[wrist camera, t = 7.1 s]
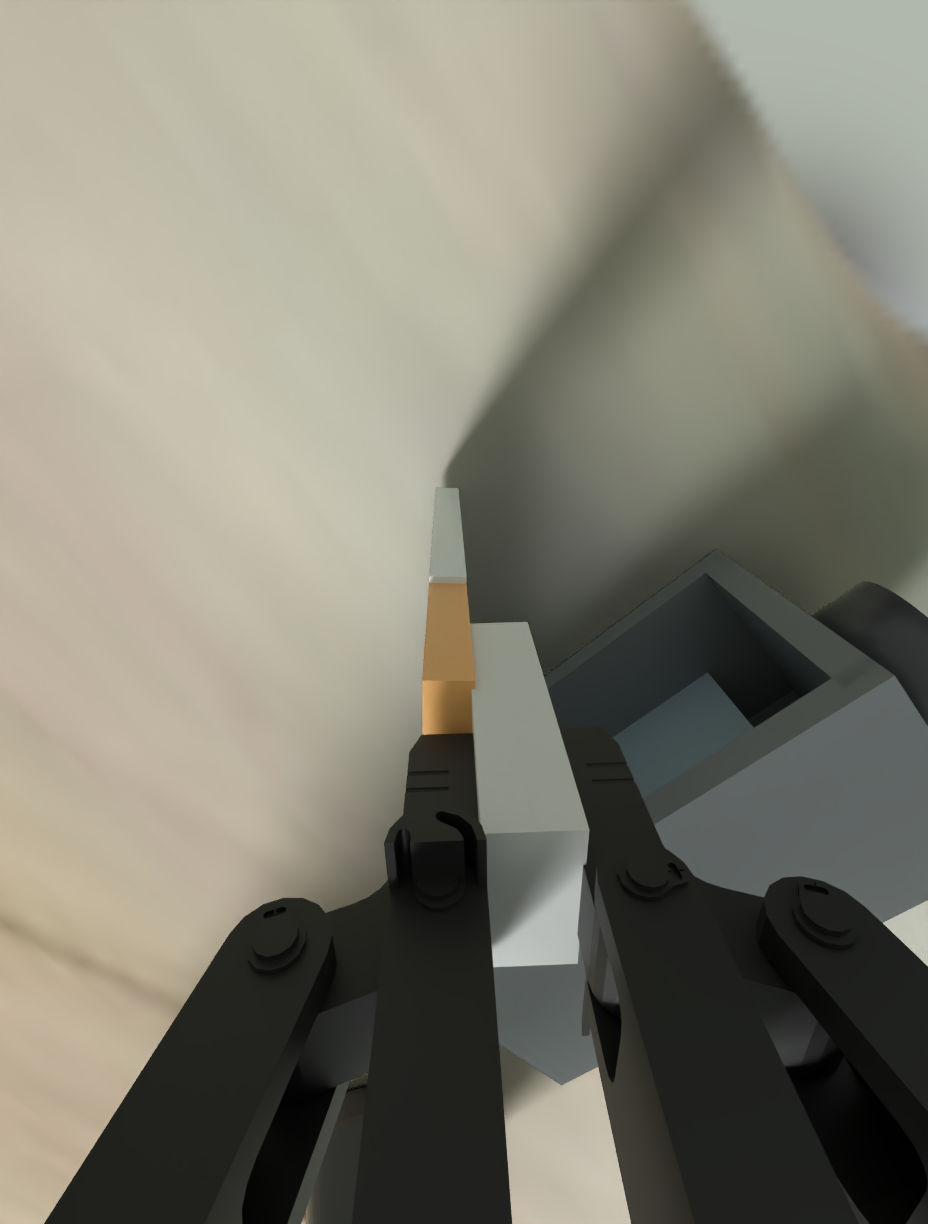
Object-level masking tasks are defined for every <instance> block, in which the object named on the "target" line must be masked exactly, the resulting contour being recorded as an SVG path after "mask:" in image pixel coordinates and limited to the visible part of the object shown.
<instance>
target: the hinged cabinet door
mask: <svg viewBox="0 0 928 1224" xmlns="http://www.w3.org/2000/svg"><path fill="white" fill-rule="evenodd" d="M473 689H475V672H474V661H473V650H472V639H471V628H470V617H469V606H468V595H467V575H466V564H465V553H464V543H463V532H462V522H461V511H460V501H459V490H458V488H436V494H435V507H434V520H433V534H432V547H431V560H430V574H429V594H428V608H427V622H426V635H425V649H424V663H423V677H422V730H423V735H427V734H456V733H472V690H473Z"/></svg>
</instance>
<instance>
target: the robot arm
mask: <svg viewBox="0 0 928 1224" xmlns="http://www.w3.org/2000/svg"><path fill="white" fill-rule="evenodd" d="M470 628H471V639H472V650H473V661H474V672H475V689H473V690H472V733H456V734H427V735H421V737H420V738H419V740H418V741H417V742H416V744H415V745H414V747H413V748H412V749H411V751H410V753H409V763H408V776H407V783H406V793H405V803H404V813H403V816H402V817H401V818H400V819H399V820H398V821H397V822H396V823H395V824H394V825H393V826H392V827H391V828H390V830H389V832H388V835H387V837H386V840H385V843H384V846H385V856H386V865H387V874H388V881H387V882H386V883H385V884H384V885H383V886H382V887H381V888H380V889H379V890H378V891H376V892H375V893H374V894H372V895H371V896H369V897H368V898H366V899H363V900H361V901H359V902H357V903H354V904H352V905H349V906H346V907H343V908H340V909H337V910H334V911H331V912H328V913H325V912H324V911H323V910H322V908H321V907H320V906H319V905H318V904H316V903H313V902H311V901H308V900H306V899H303V898H282V899H279V900H276V901H273V902H270V903H266V904H263V905H262V906H260V907H259V908H257V909H256V910H254V911H253V912H251V913H250V914H248V915H247V916H245V917H244V918H243V919H242V920H241V921H240V923H239V924H238V925H237V926H236V927H235V928H234V929H233V931H232V932H231V933H230V934H229V936H228V937H227V939H226V940H225V942H224V943H223V945H222V946H221V948H220V950H219V951H218V953H217V954H216V956H215V957H214V959H213V961H212V962H211V964H210V965H209V967H208V968H207V970H206V971H205V973H204V975H203V976H202V978H201V979H200V981H199V982H198V984H197V986H196V987H195V989H194V990H193V992H192V993H191V995H190V997H189V998H188V1000H187V1001H186V1003H185V1004H184V1006H183V1007H182V1009H181V1011H180V1012H179V1014H178V1015H177V1017H176V1018H175V1020H174V1022H173V1023H172V1025H171V1026H170V1028H169V1029H168V1031H167V1032H166V1034H165V1036H164V1037H163V1039H162V1040H161V1042H160V1043H159V1045H158V1047H157V1048H156V1050H155V1051H154V1053H153V1054H152V1056H151V1057H150V1059H149V1061H148V1062H147V1064H146V1065H145V1067H144V1068H143V1070H142V1072H141V1073H140V1075H139V1076H138V1078H137V1079H136V1081H135V1082H134V1084H133V1086H132V1087H131V1089H130V1090H129V1092H128V1093H127V1095H126V1097H125V1098H124V1100H123V1101H122V1103H121V1104H120V1106H119V1108H118V1109H117V1111H116V1112H115V1114H114V1115H113V1117H112V1118H111V1120H110V1122H109V1123H108V1125H107V1126H106V1128H105V1129H104V1131H103V1133H102V1134H101V1136H100V1137H99V1139H98V1140H97V1142H96V1143H95V1145H94V1147H93V1148H92V1150H91V1151H90V1153H89V1154H88V1156H87V1158H86V1159H85V1161H84V1162H83V1164H82V1165H81V1167H80V1168H79V1170H78V1172H77V1173H76V1175H75V1176H74V1178H73V1179H72V1181H71V1183H70V1184H69V1186H68V1187H67V1189H66V1190H65V1192H64V1193H63V1195H62V1197H61V1198H60V1200H59V1201H58V1203H57V1204H56V1206H55V1208H54V1209H53V1211H52V1212H51V1214H50V1215H49V1217H48V1219H47V1220H46V1222H45V1223H44V1224H301V1222H302V1219H303V1216H304V1214H305V1211H306V1224H512V1216H511V1202H510V1189H509V1175H508V1161H507V1148H506V1134H505V1121H504V1107H503V1093H502V1080H501V1066H500V1052H499V1039H498V1025H497V1012H496V998H495V984H494V971H493V967H511V966H533V965H559V964H578V953H579V944H580V948H581V953H582V957H583V962H584V966H585V971H586V980H585V990H584V1000H583V1010H582V1036H589V1035H590V1029H591V1034H592V1039H593V1043H594V1048H595V1053H596V1058H597V1062H598V1067H599V1072H600V1077H601V1081H602V1086H603V1091H604V1096H605V1100H606V1105H607V1110H608V1115H609V1119H610V1124H611V1129H612V1134H613V1138H614V1143H615V1148H616V1153H617V1157H618V1162H619V1167H620V1172H621V1176H622V1181H623V1186H624V1191H625V1195H626V1200H627V1205H628V1210H629V1215H630V1219H631V1224H928V966H927V965H926V964H925V963H923V962H922V961H921V960H920V959H919V958H918V957H917V956H916V955H915V954H914V953H913V952H912V951H911V950H910V949H909V948H908V947H907V946H906V945H905V944H904V943H903V942H902V941H901V940H899V939H898V938H897V937H896V936H895V935H894V934H893V933H892V932H891V931H890V930H889V929H888V928H887V927H886V926H885V925H884V924H883V923H882V922H881V921H880V920H879V919H878V918H876V917H875V916H874V915H873V914H872V913H871V912H870V911H869V910H868V909H867V908H866V907H865V906H863V905H862V904H861V903H860V902H858V901H857V900H856V899H854V898H853V897H852V896H850V895H849V894H848V893H847V892H845V891H843V890H841V889H839V888H837V887H834V886H832V885H830V884H828V883H826V882H824V881H821V880H816V879H812V878H807V877H803V876H797V877H784V878H781V879H779V880H778V881H776V882H774V883H772V884H771V885H769V888H768V890H767V892H766V894H765V897H760V896H756V895H752V894H748V893H743V892H739V891H735V890H731V889H726V888H722V887H719V886H716V885H713V884H710V883H707V882H705V881H703V880H701V879H699V878H697V877H695V876H694V875H693V874H692V872H691V871H690V870H689V868H688V867H687V865H686V864H685V863H684V862H683V861H682V860H681V859H679V858H678V857H677V856H675V855H674V854H673V853H672V852H670V851H669V850H667V849H665V847H664V845H663V844H662V841H661V839H660V837H659V835H658V832H657V830H656V828H655V825H654V823H653V821H652V819H651V816H650V814H649V812H648V810H647V807H646V805H645V803H644V800H643V798H642V796H641V794H640V791H639V789H638V787H637V785H636V782H634V778H633V775H632V773H631V771H630V769H629V766H627V762H626V760H625V757H624V755H623V753H622V750H621V748H620V746H619V744H618V742H617V741H616V740H614V739H613V738H612V737H611V736H610V735H609V734H608V733H607V732H606V731H604V730H603V729H602V728H601V727H578V728H559V726H558V723H557V719H556V716H555V713H554V709H553V706H552V703H551V699H550V696H549V692H548V689H547V686H546V682H545V679H544V676H543V672H542V669H541V666H540V662H539V659H538V656H537V652H536V649H535V645H534V642H533V639H532V635H531V632H530V629H529V625H528V622H505V623H474V624H470ZM368 1072H369V1074H368V1083H367V1087H364V1088H359V1089H356V1090H352V1091H349V1092H346V1091H347V1089H348V1086H349V1083H350V1080H352V1079H354V1078H356V1077H359V1076H361V1075H363V1074H365V1073H368Z"/></svg>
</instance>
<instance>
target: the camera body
mask: <svg viewBox="0 0 928 1224" xmlns="http://www.w3.org/2000/svg"><path fill="white" fill-rule="evenodd" d="M544 679H545V682H546V686H547V689H548V692H549V696H550V699H551V703H552V706H553V709H554V713H555V716H556V719H557V723H558V726H559V728H578V727H601V728H602V729H603V730H604V731H606V732H607V733H608V734H609V735H610V736H611V737H612V738H613V739H614V740H616V741H617V742H618V744H619V746H620V748H621V750H622V753H623V755H624V757H625V760H626V762H627V766H629V769H630V771H631V773H632V775H633V778H634V782H636V785H637V787H638V789H639V791H640V794H641V796H642V798H643V800H644V803H645V805H646V807H647V810H648V812H649V814H650V816H651V819H652V821H653V823H654V825H655V828H656V830H657V832H658V835H659V837H660V839H661V841H662V844H663V845H664V847H665V849H667V850H669V851H670V852H672V853H673V854H674V855H675V856H677V857H678V858H679V859H681V860H682V861H683V862H684V863H685V864H686V865H687V867H688V868H689V870H690V871H691V872H692V874H693V875H694V876H695V877H697V878H699V879H701V880H703V881H705V882H707V883H710V884H713V885H716V886H719V887H722V888H726V889H731V890H735V891H739V892H743V893H748V894H752V895H756V896H760V897H765V894H766V892H767V890H768V888H769V885H771V884H772V883H774V882H776V881H778V880H779V879H781V878H784V877H797V876H803V877H807V878H812V879H816V880H821V881H824V882H826V883H828V884H830V885H832V886H834V887H837V888H839V889H841V890H843V891H845V892H847V893H848V894H849V895H850V896H852V897H853V898H854V899H856V900H857V901H858V902H860V903H861V904H862V905H863V906H865V907H866V908H867V909H868V910H869V911H870V912H871V913H872V914H873V915H874V916H875V917H876V918H878V919H879V920H880V921H881V922H882V923H883V922H885V921H887V920H889V919H891V918H893V917H895V916H897V915H899V914H901V913H903V912H905V911H907V910H909V909H911V908H913V907H915V906H917V905H919V904H921V903H923V902H925V901H927V900H928V618H927V617H926V616H925V615H924V614H923V613H921V612H920V611H919V610H918V609H916V608H915V607H914V606H912V605H911V604H910V603H908V602H907V601H905V600H904V599H903V598H901V597H900V596H898V595H896V594H895V593H893V592H891V591H890V590H888V589H886V588H884V587H882V586H880V585H878V584H875V583H872V582H865V581H864V582H861V583H859V584H858V585H856V586H855V587H853V588H852V589H850V590H849V591H847V592H846V593H844V594H843V595H841V596H840V597H839V598H837V599H836V600H834V601H833V602H831V603H830V604H828V605H827V606H825V607H824V608H822V609H821V610H819V611H818V612H816V613H815V614H813V615H812V616H810V615H809V614H808V613H806V612H805V611H803V610H802V609H801V608H799V607H798V606H796V605H795V604H794V603H792V602H791V601H789V600H788V599H787V598H785V597H784V596H782V595H781V594H780V593H778V592H777V591H775V590H774V589H772V588H771V587H770V586H768V585H767V584H765V583H764V582H763V581H761V580H760V579H758V578H757V577H756V576H754V575H753V574H751V573H750V572H749V571H747V570H746V569H744V568H743V567H742V566H740V565H739V564H737V563H736V562H735V561H733V560H732V559H730V558H729V557H727V556H726V555H725V554H723V553H722V552H720V551H719V550H718V549H715V550H714V551H713V552H711V553H710V554H709V555H707V556H706V557H705V558H703V559H702V560H701V561H699V562H698V563H696V564H695V565H694V566H692V567H691V568H690V569H688V570H687V571H686V572H684V573H683V574H682V575H680V576H679V577H678V578H676V579H675V580H674V581H672V582H671V583H670V584H668V585H667V586H666V587H664V588H663V589H662V590H660V591H659V592H658V593H656V594H655V595H653V596H652V597H651V598H649V599H648V600H647V601H645V602H644V603H643V604H641V605H640V606H639V607H637V608H636V609H635V610H633V611H632V612H631V613H629V614H628V615H627V616H625V617H624V618H623V619H621V620H620V621H619V622H617V623H616V624H615V625H613V626H612V627H610V628H609V629H608V630H606V631H605V632H604V633H602V634H601V635H600V636H598V637H597V638H596V639H594V640H593V641H592V642H590V643H589V644H588V645H586V646H585V647H584V648H582V649H581V650H580V651H578V652H577V653H576V654H574V655H573V656H571V657H570V658H569V659H567V660H566V661H565V662H563V663H562V664H561V665H559V666H558V667H557V668H555V669H554V670H553V671H551V672H550V673H549V674H547V675H546V676H545V677H544ZM493 971H494V984H495V998H496V1012H497V1025H498V1039H499V1044H500V1045H501V1046H503V1047H504V1048H506V1049H507V1050H509V1051H510V1052H512V1053H513V1054H515V1055H516V1056H518V1057H519V1058H521V1059H522V1060H524V1061H526V1062H527V1063H529V1064H530V1065H532V1066H533V1067H535V1068H536V1069H538V1070H539V1071H541V1072H542V1073H544V1074H545V1075H547V1076H548V1077H550V1078H551V1079H553V1080H554V1081H556V1082H557V1083H559V1084H560V1085H563V1084H565V1083H567V1082H569V1081H571V1080H573V1079H575V1078H577V1077H579V1076H581V1075H583V1074H584V1073H586V1072H588V1071H590V1070H592V1069H594V1068H596V1067H598V1062H597V1058H596V1053H595V1048H594V1043H593V1039H592V1034H591V1029H590V1035H589V1036H582V1010H583V1000H584V990H585V980H586V971H585V966H584V962H583V957H582V953H581V948H580V944H579V953H578V964H559V965H533V966H511V967H493Z"/></svg>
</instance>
